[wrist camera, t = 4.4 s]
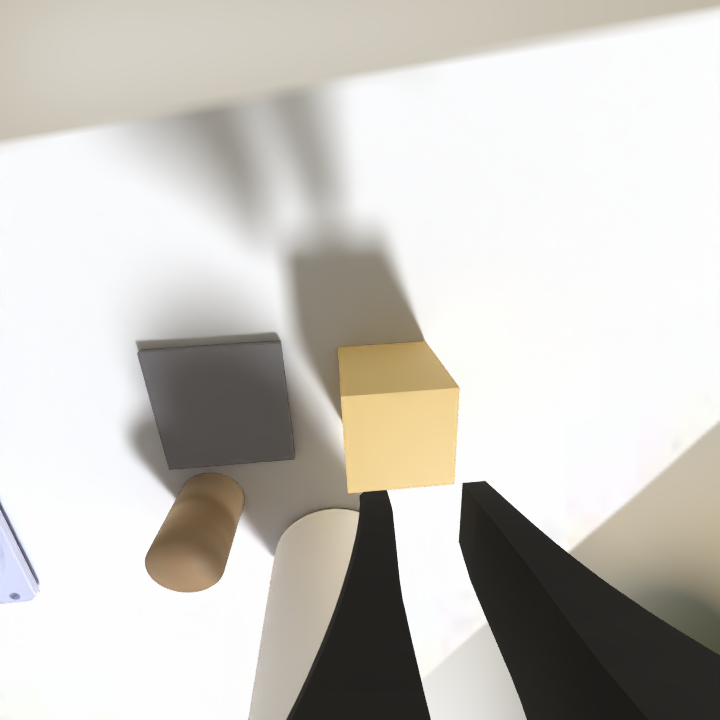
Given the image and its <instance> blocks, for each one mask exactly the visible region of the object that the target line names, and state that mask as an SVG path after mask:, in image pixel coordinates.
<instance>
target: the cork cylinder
mask: <svg viewBox="0 0 720 720" xmlns="http://www.w3.org/2000/svg"><path fill="white" fill-rule="evenodd" d="M243 505H244V494H243V491H242V489H241V488H240V486H239V485H238V484H237V483H236V482H235V481H234V480H232V479H231V478H229V477H227V476H224V475H221V474H217V473H203V474H199V475H196V476H194V477H192V478H190V479H189V480H188V481H187V482H186V483H185V484H184V485H183V487H182V489H181V491H180V493H179V495H178V496H177V498H176V500H175V502H174V504H173V506H172V508H171V510H170V511H169V513H168V515H167V517H166V519H165V521H164V523H163V524H162V526H161V528H160V530H159V532H158V534H157V536H156V538H155V539H154V541H153V543H152V545H151V547H150V549H149V551H148V553H147V555H146V558H145V566H146V569H147V572H148V574H149V575H150V576H151V578H152V579H153V580H154V581H155V582H157V583H158V584H160V585H161V586H163V587H165V588H167V589H170V590H173V591H178V592H197V591H202V590H205V589H207V588H209V587H211V586H213V585H214V584H216V583H217V582H218V581H219V580H220V578H221V577H222V575H223V573H224V570H225V566H226V563H227V559H228V556H229V553H230V549H231V546H232V542H233V539H234V536H235V532H236V529H237V525H238V522H239V519H240V515H241V512H242V508H243Z"/></svg>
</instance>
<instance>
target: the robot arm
mask: <svg viewBox="0 0 720 720" xmlns="http://www.w3.org/2000/svg"><path fill="white" fill-rule="evenodd" d="M459 543H460V547H461V550H462V554H463V557H464V561H465V564H466V567H467V570H468V574H469V577H470V580H471V583H472V585H473V588H474V590H475V592H476V595H477V597H478V600H479V602H480V604H481V607H482V609H483V611H484V614H485V616H486V619H487V621H488V623H489V626H490V628H491V630H492V632H493V635H494V637H495V639H496V642H497V644H498V647H499V649H500V651H501V654H502V656H503V658H504V661H505V663H506V666H507V668H508V670H509V672H510V675H511V677H512V680H513V682H514V685H515V688H516V690H517V693H518V695H519V698H520V701H521V703H522V706H523V709H524V712H525V715H526V718H527V720H720V655H719V654H716V653H715V652H713V651H712V650H710V649H708V648H707V647H705V646H703V645H702V644H700V643H698V642H697V641H695V640H694V639H692V638H690V637H689V636H687V635H685V634H684V633H682V632H680V631H679V630H677V629H676V628H674V627H672V626H671V625H669V624H667V623H666V622H664V621H663V620H661V619H660V618H658V617H656V616H655V615H653V614H652V613H650V612H649V611H647V610H646V609H644V608H643V607H641V606H640V605H639V604H637V603H635V602H634V601H633V600H631V599H630V598H628V597H627V596H625V595H624V594H622V593H621V592H619V591H618V590H617V589H615V588H614V587H612V586H611V585H609V584H608V583H606V582H605V581H604V580H603V579H601V578H600V577H598V576H597V575H596V574H594V573H593V572H592V571H590V570H589V569H588V568H587V567H585V566H584V565H583V564H581V563H580V562H579V561H577V560H576V559H575V558H574V557H572V556H571V555H570V554H568V553H567V552H566V551H565V550H564V549H562V548H561V547H560V546H559V545H557V544H556V543H555V542H554V541H553V540H551V539H550V538H549V537H548V536H547V535H545V534H544V533H543V532H542V531H541V530H540V529H538V528H537V527H536V526H535V525H534V524H533V523H531V522H530V521H529V520H528V519H527V518H526V517H525V516H523V515H522V514H521V513H520V512H519V511H518V510H517V509H516V508H514V507H513V506H512V505H511V504H510V503H509V502H508V501H507V500H506V499H505V498H503V497H502V496H501V495H500V494H499V493H498V492H497V491H496V490H495V489H493V488H492V487H491V486H490V485H489V484H488V483H487V482H486V481H481V482H470V483H463V487H462V502H461V518H460V533H459ZM38 593H39V587H38V585H37V583H36V581H35V579H34V577H33V575H32V573H31V571H30V569H29V567H28V565H27V563H26V561H25V559H24V557H23V555H22V553H21V551H20V549H19V547H18V545H17V543H16V541H15V538H14V536H13V534H12V532H11V530H10V528H9V526H8V524H7V522H6V520H5V518H4V516H3V514H2V512H1V510H0V604H4V603H14V602H24V601H30V600H33V599H34V598H35V597H36V596H37V594H38ZM286 720H431V719H430V715H429V711H428V707H427V703H426V699H425V695H424V691H423V687H422V682H421V678H420V674H419V669H418V665H417V661H416V657H415V652H414V648H413V644H412V640H411V635H410V631H409V626H408V622H407V617H406V613H405V608H404V604H403V599H402V593H401V586H400V579H399V570H398V560H397V550H396V540H395V531H394V521H393V511H392V507H391V503H390V500H389V496H388V493H387V490H379V491H368V492H363V493H362V494H361V495H360V511H359V520H358V526H357V532H356V537H355V541H354V545H353V549H352V554H351V558H350V562H349V565H348V569H347V572H346V575H345V578H344V582H343V585H342V588H341V591H340V595H339V598H338V601H337V603H336V606H335V609H334V612H333V615H332V617H331V620H330V623H329V625H328V628H327V630H326V633H325V635H324V638H323V641H322V643H321V645H320V648H319V650H318V652H317V655H316V657H315V659H314V662H313V664H312V666H311V669H310V671H309V673H308V675H307V678H306V680H305V682H304V684H303V686H302V689H301V691H300V693H299V695H298V697H297V699H296V701H295V703H294V705H293V707H292V709H291V711H290V713H289V715H288V717H287V719H286Z"/></svg>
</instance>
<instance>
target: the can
mask: <svg viewBox="0 0 720 720" xmlns="http://www.w3.org/2000/svg"><path fill="white" fill-rule="evenodd" d="M358 520H359V512H357V511H354V510H350V509H343V508H330V509H324V510H319V511H316V512H313V513H310V514H308V515H306V516H304V517H303V518H301V519H299V520H297V521H296V522H295V523H293V524H292V525H291V526H290V527H289V528H288V529H287V530H286V531H285V532H284V533H283V535H282V536H281V538H280V540H279V542H278V545H277V548H276V552H275V557H274V563H273V569H272V575H271V581H270V587H269V593H268V599H267V605H266V612H265V618H264V624H263V631H262V637H261V643H260V649H259V656H258V662H257V668H256V675H255V681H254V687H253V694H252V700H251V706H250V713H249V719H248V720H286V719H287V717H288V715H289V713H290V711H291V709H292V707H293V705H294V703H295V701H296V699H297V697H298V695H299V693H300V691H301V689H302V686H303V684H304V682H305V680H306V678H307V675H308V673H309V671H310V669H311V666H312V664H313V662H314V659H315V657H316V655H317V652H318V650H319V648H320V645H321V643H322V641H323V638H324V635H325V633H326V630H327V628H328V625H329V623H330V620H331V617H332V615H333V612H334V609H335V606H336V603H337V601H338V598H339V595H340V591H341V588H342V585H343V582H344V578H345V575H346V572H347V569H348V565H349V562H350V558H351V554H352V549H353V545H354V541H355V537H356V532H357V526H358Z"/></svg>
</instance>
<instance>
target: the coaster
mask: <svg viewBox="0 0 720 720" xmlns="http://www.w3.org/2000/svg"><path fill="white" fill-rule="evenodd" d="M137 354H138V358H139V362H140V365H141V369H142V372H143V376H144V380H145V383H146V387H147V391H148V394H149V398H150V401H151V405H152V409H153V412H154V416H155V420H156V423H157V427H158V430H159V434H160V438H161V441H162V445H163V449H164V452H165V456H166V459H167V463H168V467H169V470H172V469H184V468H196V467H208V466H220V465H232V464H244V463H256V462H268V461H280V460H292V459H295V449H294V441H293V433H292V425H291V417H290V410H289V402H288V394H287V386H286V378H285V370H284V363H283V355H282V347H281V341H267V342H252V343H237V344H222V345H206V346H191V347H176V348H161V349H146V350H141V351H139V352H138V353H137Z"/></svg>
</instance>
